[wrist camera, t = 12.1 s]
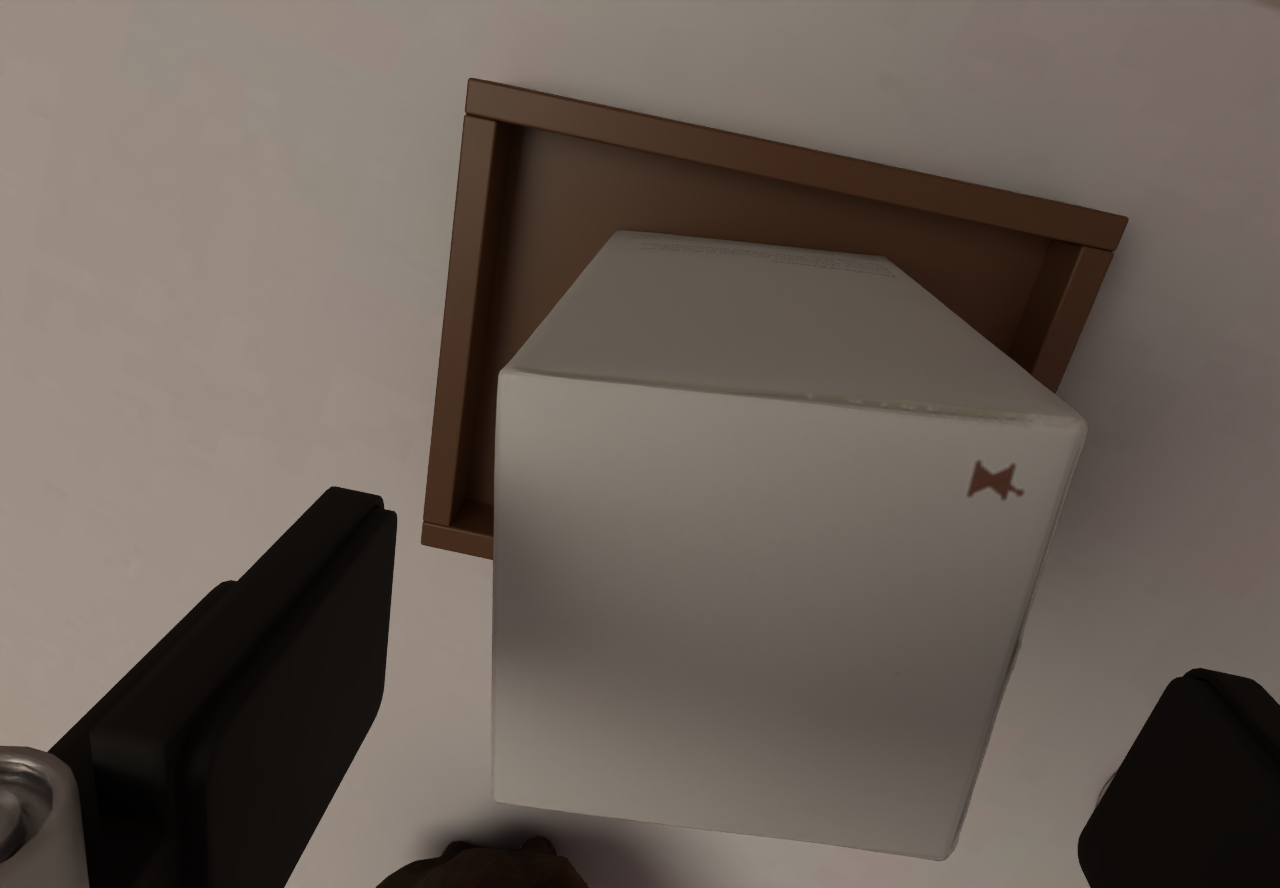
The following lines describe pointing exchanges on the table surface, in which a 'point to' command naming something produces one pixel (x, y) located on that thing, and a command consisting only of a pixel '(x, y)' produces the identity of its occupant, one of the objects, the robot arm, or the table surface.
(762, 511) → the white packaging box
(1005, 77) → the table surface
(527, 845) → the sculpture
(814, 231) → the tray
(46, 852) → the robot arm
